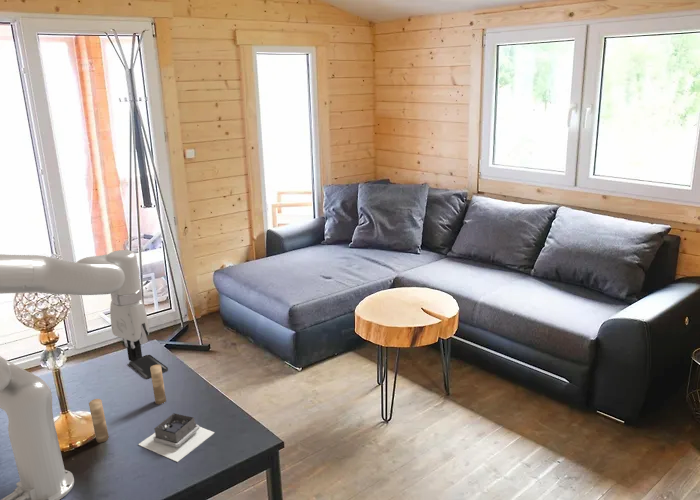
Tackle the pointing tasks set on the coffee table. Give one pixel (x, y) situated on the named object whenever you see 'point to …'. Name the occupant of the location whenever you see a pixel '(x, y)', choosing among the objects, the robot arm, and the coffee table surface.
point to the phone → (147, 365)
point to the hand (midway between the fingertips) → (135, 359)
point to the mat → (183, 449)
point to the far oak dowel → (158, 384)
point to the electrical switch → (175, 430)
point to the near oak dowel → (98, 420)
